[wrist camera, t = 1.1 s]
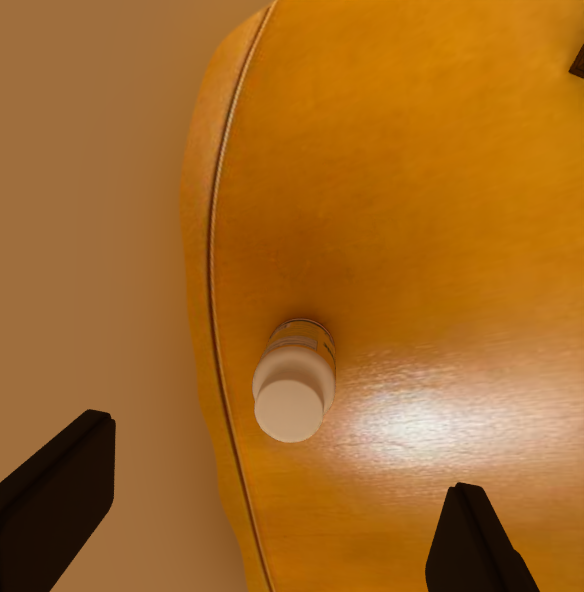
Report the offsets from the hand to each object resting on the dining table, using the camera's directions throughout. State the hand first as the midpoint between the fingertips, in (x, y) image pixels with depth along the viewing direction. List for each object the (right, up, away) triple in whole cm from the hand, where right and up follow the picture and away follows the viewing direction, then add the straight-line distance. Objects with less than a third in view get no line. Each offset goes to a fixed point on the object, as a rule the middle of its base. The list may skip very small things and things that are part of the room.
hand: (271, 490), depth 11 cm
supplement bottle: (+1, +1, +21) cm, 21 cm away
